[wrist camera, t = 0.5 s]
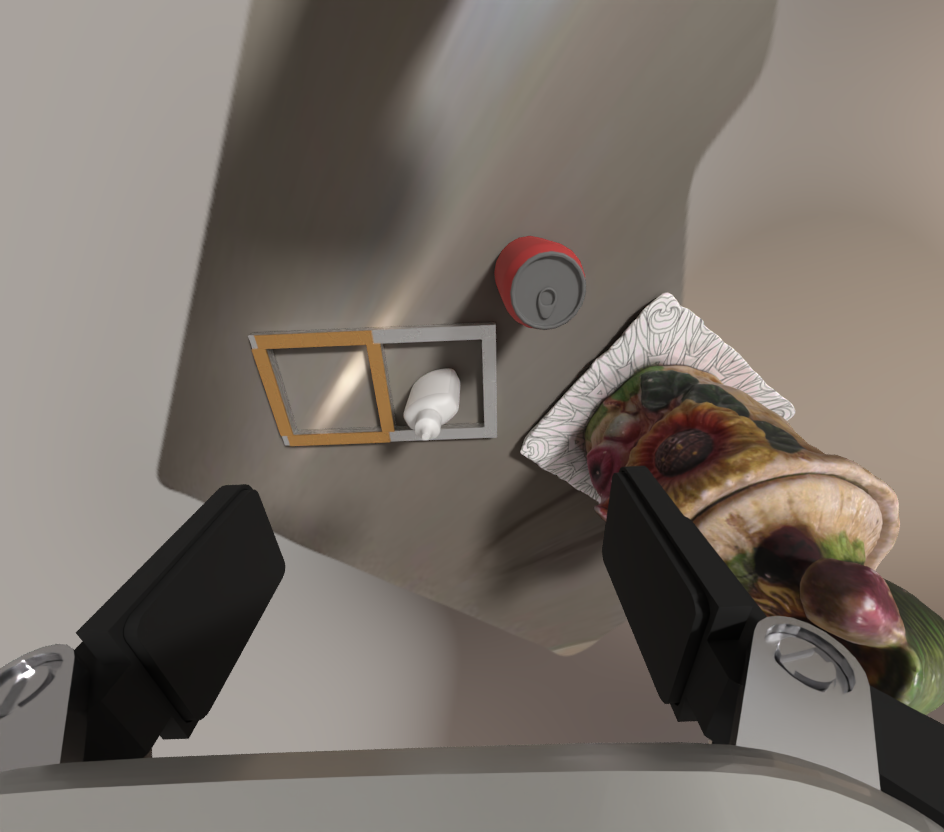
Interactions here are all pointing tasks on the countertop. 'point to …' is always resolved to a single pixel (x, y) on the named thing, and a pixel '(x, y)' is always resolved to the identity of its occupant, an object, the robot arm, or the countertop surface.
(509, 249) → the beer can
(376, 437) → the rail
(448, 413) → the eye dropper bottle
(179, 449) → the countertop surface
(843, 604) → the cookie jar
